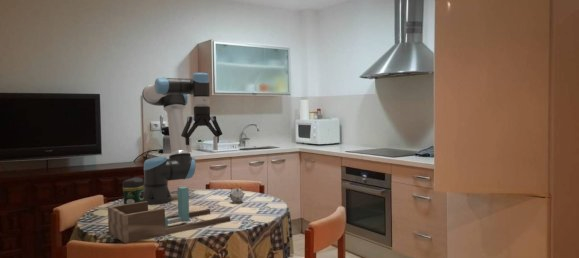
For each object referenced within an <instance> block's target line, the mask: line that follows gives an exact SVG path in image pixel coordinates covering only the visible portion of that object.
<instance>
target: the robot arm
mask: <svg viewBox="0 0 579 258" xmlns="http://www.w3.org/2000/svg"><path fill="white" fill-rule="evenodd" d="M210 83H211V82H210V75H209V73H208V72H207V73H206V72H194V73H193V75H192V78H176V77H175V78H174V77H173V78H171V77H158V78H156V79H155V81H154V84H149V85H147V86H145V87H144V88H143V89H142V92H141V96H142V99H143V100H144V101H145V102H146V103H148V104H149V105H152V106H156V107H157V106H162V107H163V110H164V111H165V112H166V117H167V123H168V134H169V143H170V152H171V153H170V154H169V155H168V158H167V156H156V157H152V158H151V157H150V158H148V159H145V160H144V162H143V174H144V175H143V176H144V179H143V180H144V201H147V202H148V205H159V204H160V205H161V204H165V203H169V202H171V201H172V195H171V192H170V190H169V187H168V182H169V181H178V180H188V179H191V178H193V177H194V174H195V172H196V159H195V157H193V156H192V155H191V153H192V137H191V136H192V135H193V133H194V132H195V131H196V129H197V128H198V127H203V126H204V127H205V126H206V127H207V128H208V130H209V131H210V132H211V133H212V135H213V137H212V142H213V143H212V144H213V147H212V148H213V151H218V146H219V145H218V144H219V143H220V137H221V136H222V135H223V132H222V129H221V127H220V125H219V123H218V121H217V116H216V115H212V116H211V106H210V105H211V101H210V99H211V98H210V97H211V96H210V95H211V94H210V93H211V92H210ZM188 95H189V96H190V95H191V96H193V98H192V99H193V101H192V104H193V116H187V118H186V119H187V120H186V123H185V119H184V113H183V111H184V109H185V108H186V106H187V105H188V99H189V98H188ZM193 121H194V123H193V124H192V122H193ZM210 121H211V122H212V123H211V122H210ZM212 124H213V125H212ZM191 125H192V126H191Z"/></svg>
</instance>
